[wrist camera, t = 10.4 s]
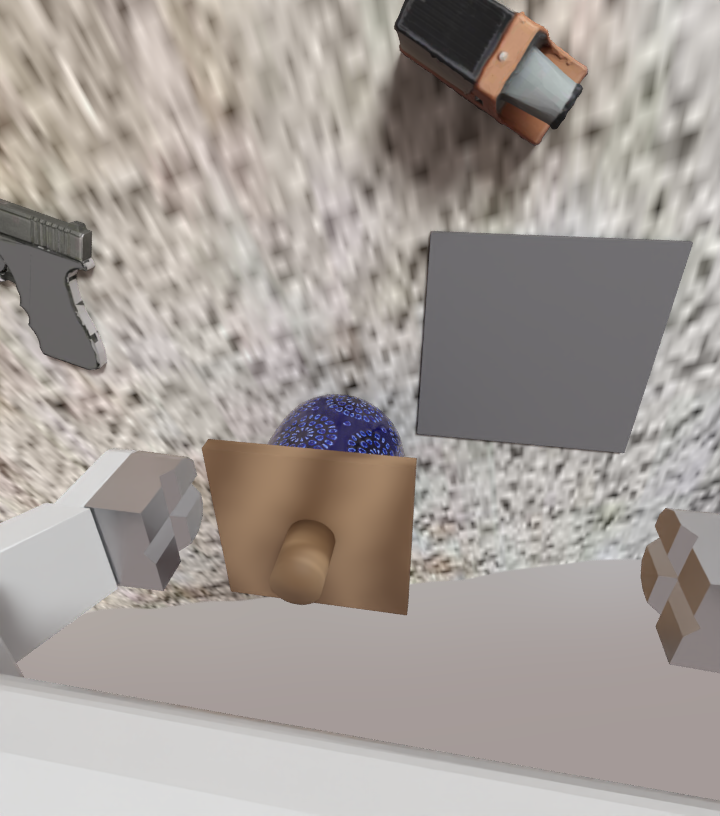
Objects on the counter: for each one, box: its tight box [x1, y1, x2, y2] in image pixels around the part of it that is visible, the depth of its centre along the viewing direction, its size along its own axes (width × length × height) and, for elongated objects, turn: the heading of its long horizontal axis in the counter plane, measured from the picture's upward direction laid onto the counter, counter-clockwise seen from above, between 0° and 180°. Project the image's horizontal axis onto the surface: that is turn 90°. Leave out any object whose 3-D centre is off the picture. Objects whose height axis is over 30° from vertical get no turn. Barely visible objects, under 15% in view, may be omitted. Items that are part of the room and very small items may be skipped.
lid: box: [202, 439, 417, 615], centre depth 33 cm, size 13×13×5 cm
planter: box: [267, 394, 404, 457], centre depth 40 cm, size 11×11×11 cm
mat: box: [417, 231, 693, 453], centre depth 38 cm, size 16×16×1 cm
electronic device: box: [394, 0, 588, 145], centre depth 27 cm, size 4×10×8 cm, turn 61°
